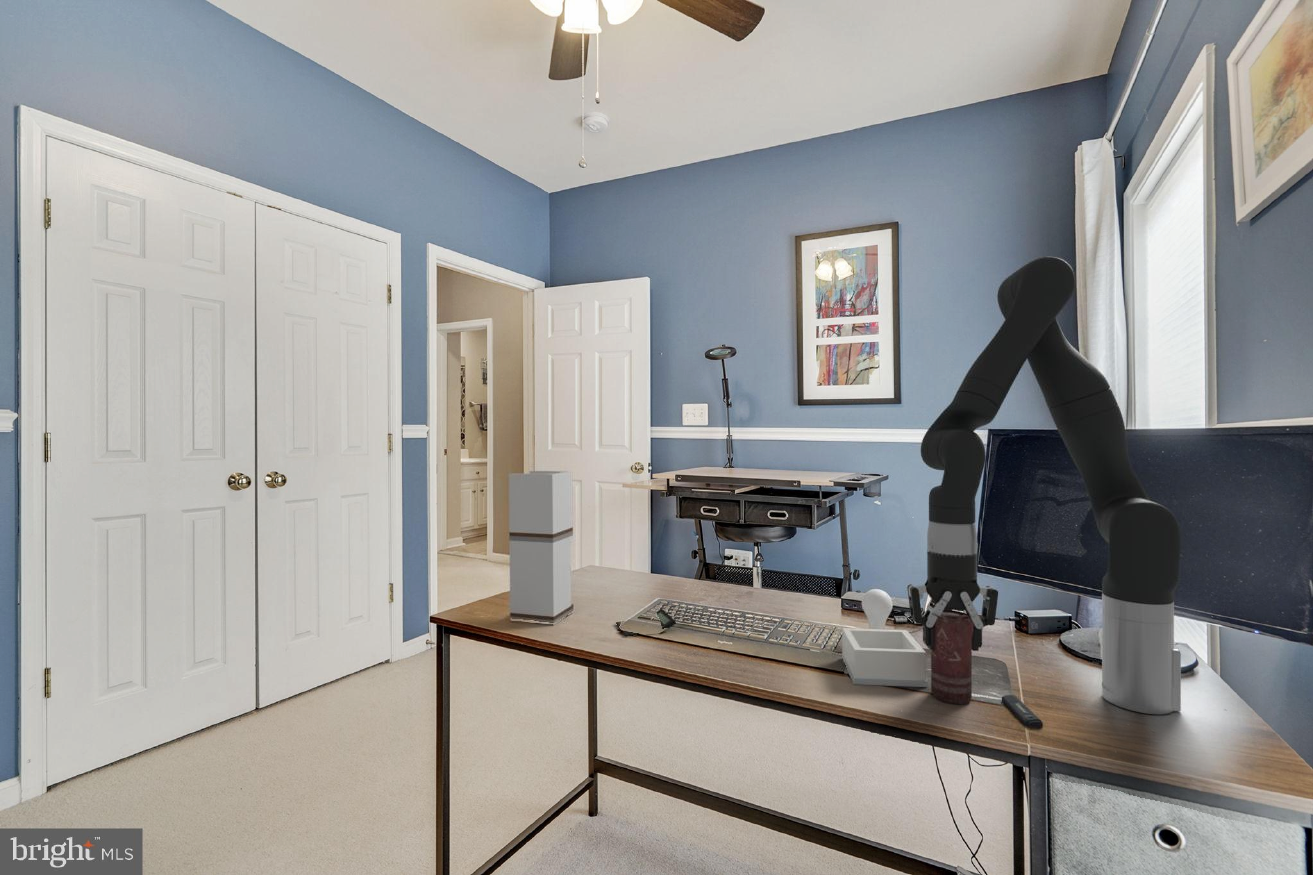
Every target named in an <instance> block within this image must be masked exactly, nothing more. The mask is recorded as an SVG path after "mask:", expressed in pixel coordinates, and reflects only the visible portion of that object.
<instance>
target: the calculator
mask: <svg viewBox="0 0 1313 875" xmlns="http://www.w3.org/2000/svg"><path fill="white" fill-rule="evenodd" d="M655 613H657V615H658V617H659V619H660V622H661V626H662V629H664V628H668V629H670V628H671V627H673V626H675V625H676V624H677V621H676V620H675V619H674V618H673V617H672V616H671V615H670V614H669V613H668V612H666V611H665V610H664V609H663V608H661V609H659V610H658V611H657V612H655ZM621 622H622V621H616V622H615V625H616V624H617V625H616V627H617V626H620V624H621ZM623 633H624V634H623ZM623 633H622V634H623V635H625V636H634V635H637V634H639V633H633V632H626V631H623ZM625 636H624V637H625ZM634 637H635V636H634Z"/></svg>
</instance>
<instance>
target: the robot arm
mask: <svg viewBox="0 0 1313 875" xmlns="http://www.w3.org/2000/svg"><path fill="white" fill-rule="evenodd" d="M1076 281H1077V280H1076V274H1075V272H1074V270H1073V268H1072V266H1071V265H1070V264H1069V263H1068V262H1067V261H1066V260H1064V259H1062V258H1059V257H1055V256H1043V257H1038V258H1036V259H1034V260H1031V261H1029V262H1028V263H1026V264H1025V265H1022V267H1020V268H1019V269H1017V270H1016V271H1014V272H1013V273H1011V275H1009V276H1008V277H1006V278H1005V279H1004V280H1003V281H1002V282H1001V283H1000V285H999V287H998V291H997V296H996V297H997V303H998V308H999V310H1000V312H1001V315H1002V316H1003V318H1004V322H1003V323H1002V324H1001V326H1000V328H999V329H998V330H997V332H996V333H995V335H994V336H993V338H992V339H991V340H990V341H989V343H988V344H987V345H986V347H985V348H983V350H982V352H980V354H979V355H978V357H977V358H976V360H975V361H974V362H973V363H972V365H971V366H970V368H969V370H968V371H967V372H966V374H965V377H963V380H962V382H961V383H960V386H959V387H958V389H957V391H956V393H955V395H954V397H953V399H952V401H951V402H950V404H949V405H948V406H947V407H946V408H945V409H944V410H943V411H941V413H940V414H939V415H938V417H937V418H936V420H935V421H934V422H933V423H931V425H930V426H929V428H928V429H927V431H926V432H925V434H924V436H923V438H922V440H921V444H920V456H921V459H922V462H924V464H925V465H926V466H927V467H929V468H931V469H934V470H937V471H943V476H942V480H941V484H940V485H936V486H933V487H932V488H931V489H930V490H929V491H930V492H929V494H928V526H927V532H926V533H927V534H926V535H927V536H926V539H927V540H926V542H927V543H926V548H927V549H926V551H927V552H926V556H927V557H926V558H927V559H926V564H927V566H926V567H927V568H926V570H927V571H926V572H927V573H926V575H927V576H926V577H927V579H926V582H924V584H922V585H919V584H918V585H914V584H912V583H911V584H908V585H907V588H906V589H907V595H908V596H907V597H908V605H909V612H910V614H909V615H910V618H911V619H912V620H913V621H914V622H915V623H916V624H918V625H919V624H920V625H922V641H923V644H924V645H925V646H926V648H928V650H930V651H931V650H935V628H934V627H933V625H934V623H935V622H936V620H937V618H938V617H939V616H940V615H941V613H942V612H943V610H944V611H951V610H954V611H959V612H963V613H966V614H967V615H969V616H970V617H971V619H972V621H973V626H974V631H973V638H972V652H979V651H980V650H979V648H982V646H983V629H984V627H987V626H994V625H995V624H996V615H997V608H998V599H999V591H998V590H997V589H995V588H994V587H992V586H990V585H986V586H980V585H979V584H978V550H979V544H978V534H977V528H976V495H977V493H978V490H979V487H980V485H981V480H982V475H983V472H984V468H985V464H986V449H985V448H986V447H985V445H984V442H983V440H982V438H981V437H980V435H978V433H976V432H975V431H976V430H978V429H979V428H981V427H984V426H987V425H989V424H990V423H992V422H993V421H994V419H995V418H996V416H997V414H998V412H999V411H1000V408H1001V407H1002V405H1003V403H1004V401H1005V399H1006V397H1007V395H1008V393H1009V391H1010V389H1011V387H1012V386H1013V384H1014V382H1015V380H1016V378H1017V377H1018V375H1019V373H1020V371H1021V370H1022V368H1023V366H1024V364H1025V362H1026V361H1028V363H1029V366H1030V368H1031V370H1032V372H1033V375H1034V377H1035V380H1036V382H1037V384H1038V386H1039V388H1040V390H1041V392H1042V395H1043V398H1044V400H1045V403H1046V405H1047V408H1048V410H1049V413H1050V415H1051V416H1050V417H1051V418H1052V420H1053V422H1054V424H1055V427H1056V429H1057V431H1058V433H1059V435H1060V437H1061V439H1062V441H1063V443H1064V445H1065V448H1066V449H1067V452H1068V453H1069V455H1070V457H1071V459H1072V461H1073V462H1074V465H1075V466H1076V468H1077V470H1078V472H1079V474H1080V476H1081V478H1082V480H1083V483H1084V487H1085V489H1086V493H1087V495H1088V499H1089V501H1090V506H1091V509H1092V512H1093V516H1094V520H1095V523H1096V526H1097V529H1098V532H1099V534H1100V535H1101V537H1102V538H1103V539H1104V541H1105V542H1106V543H1107V544H1108V566H1107V571H1106V574H1105V575H1104V576H1103V577H1102V580H1101V581H1102V583H1101V585H1102V586H1101V588H1102V590H1101V613H1102V614H1101V616H1102V617H1101V619H1102V620H1101V622H1102V623H1101V624H1102V625H1101V626H1102V627H1101V630H1102V631H1101V634H1102V636H1101V646H1102V647H1101V649H1102V650H1101V660H1102V661H1101V668H1102V669H1101V680H1102V681H1101V689H1102V690H1101V693H1102V697H1103V699H1105V701H1107V702H1108V703H1110V704H1112V705H1115V706H1117V707H1119V708H1123V709H1125V710H1128V711H1132V712H1137V713H1142V714H1149V715H1168V714H1171V713H1174V712H1181V711H1182V710H1181V709H1182V707H1181V705H1182V700H1181V697H1182V691H1181V690H1182V689H1181V687H1182V683H1181V682H1182V679H1181V678H1182V675H1181V674H1182V666H1181V665H1182V661H1181V660H1182V658H1181V657H1182V654H1181V651H1180V650H1179V649H1177V648H1175V592H1176V591H1175V590H1176V589H1177V587H1178V584H1179V582H1180V575H1181V574H1180V573H1181V572H1180V571H1181V570H1180V569H1181V568H1180V567H1181V548H1182V538H1181V535H1182V534H1181V528H1180V524H1179V521H1178V519H1177V517H1176V516H1175V514H1174V513H1173V512H1172V511H1171V510H1170V509H1168V507H1166V506H1164V505H1162V504H1160V503H1157V502H1154V501H1151V499H1150V497H1148V495H1147V493H1146V491H1145V490H1144V488H1143V487H1142V485H1141V482H1140V480H1139V479H1138V477H1137V474H1136V473H1135V471H1134V469H1133V466H1132V464H1131V463H1132V462H1131V460H1130V455H1129V450H1128V440H1127V432H1126V426H1125V421H1124V417H1123V414H1122V412H1121V408H1120V406H1119V404H1118V402H1117V399H1116V397H1115V395H1114V392H1113V390H1112V388H1111V386H1110V383H1109V382H1108V380H1107V378H1106V377H1105V376H1104V374H1103V373H1102V371H1100V370H1099V369H1098V368H1097V367H1096V366H1095V365H1094V364H1093V363H1092V362H1090V361H1089V360H1088V359H1087V358H1086V357H1085V356H1083V355H1082V354H1081V353H1080V352H1079V351H1078V350H1077V349H1076V348H1075V347H1073V345H1071V343H1070V342H1069V341H1068V339H1067V338H1066V336H1065V335H1064V333H1063V330H1062V328H1061V326H1060V324H1059V322H1058V319H1057V316H1058V314H1060V313H1061V311H1062V309H1064V308H1065V306H1066V305H1067V303H1069V301H1070V299H1071V298H1072V296H1073V294H1074V292H1075V289H1076V283H1077V282H1076ZM925 593H926V594H927V595H928V597H929V598H930V600H929V602H928V604H927V606H926V610H925V611H924V614H922V607H921V605H922V604H921V600H922V599H924V598H923V597H924V594H925ZM979 595H980V598H981V599H982V600H983V601H982V608H981V615H980V616H979V613H978V611H977V609H976V607H975V606H974V603H973V602H974V601H975V599H976V598H977V597H978V596H979Z"/></svg>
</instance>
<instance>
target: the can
mask: <svg viewBox="0 0 1313 875" xmlns="http://www.w3.org/2000/svg"><path fill="white" fill-rule="evenodd" d="M933 627H934V628H935V650H930V662H931V663H930V664H931V665H930V670H931V671H930V678H931V679H930V687H931V688H930V691H931V693H932V695H933V697H934V698H935V699H936V700H938V701H940V702H943V703H947V704H950V705H951V704H952V705H965V704H968V703H969V702H970V701H972V698H973V697H972V695H973V694H972V693H973V691H972V690H973V689H972V688H973V685H972V683H973V680H972V678H973V676H972V675H973V674H972V673H973V672H972V671H973V668H972V667H973V664H972V662H973V661H972V660H973V658H972V655H973V653H972V652H973V650H972V638H973V631H974V626H973V621H972V619H971V617H970V616H969V615H967V614H966V613H965V612H964V611H957V610H951V611H944V610H943V612H942V613H941V615H940V616H939V617H938V618H937V620H936V622H935V623H934V625H933Z"/></svg>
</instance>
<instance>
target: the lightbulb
mask: <svg viewBox="0 0 1313 875" xmlns="http://www.w3.org/2000/svg"><path fill="white" fill-rule="evenodd" d="M861 606H862V610H863V612H864V613H865V615H866V618H867V621H868V627H869V628H868V629H883V630H886V623H887V620H888V618H889V616H890V614H891V612H892V610H893V600H892V598H891V596H890V595H889V594H888V593H887V592H886V591H884V590H883V589H879V588H872V589H870V590H868V591H867V592H865V593H864V594H863V596H862V599H861Z"/></svg>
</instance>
